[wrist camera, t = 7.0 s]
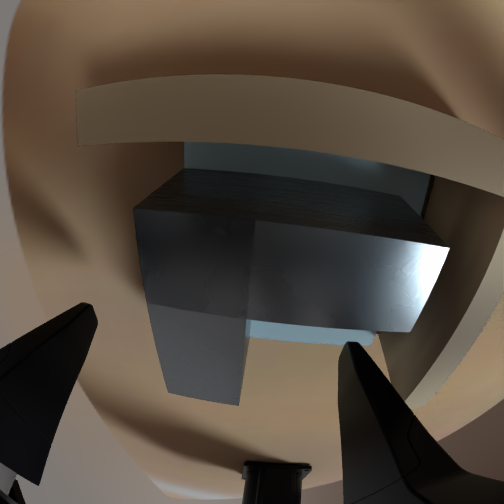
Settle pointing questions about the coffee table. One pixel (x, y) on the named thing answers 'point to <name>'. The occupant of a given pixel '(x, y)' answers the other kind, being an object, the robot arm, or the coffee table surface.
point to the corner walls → (352, 145)
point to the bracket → (272, 267)
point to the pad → (316, 169)
